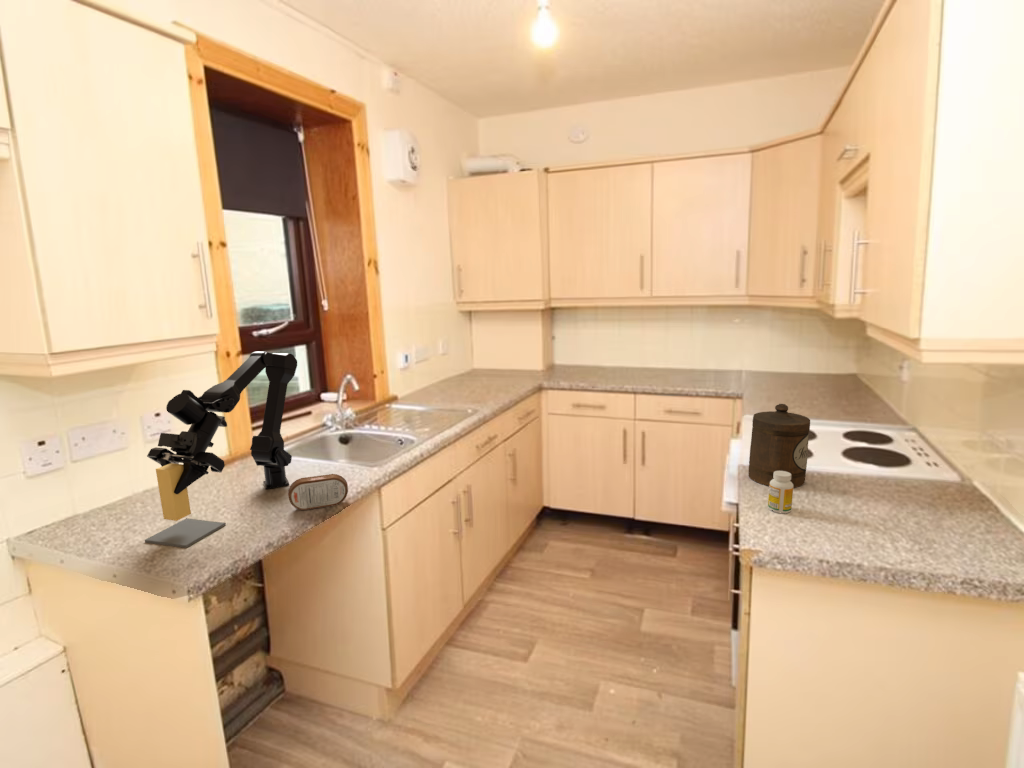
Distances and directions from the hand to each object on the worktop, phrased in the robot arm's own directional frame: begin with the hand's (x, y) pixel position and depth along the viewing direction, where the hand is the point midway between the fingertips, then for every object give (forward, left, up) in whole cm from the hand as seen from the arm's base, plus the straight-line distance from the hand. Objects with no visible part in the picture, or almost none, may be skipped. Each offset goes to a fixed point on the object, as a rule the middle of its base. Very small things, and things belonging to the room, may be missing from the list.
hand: (168, 492), depth 132 cm
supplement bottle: (+65, +132, -11) cm, 148 cm away
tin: (0, +33, -11) cm, 35 cm away
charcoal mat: (-1, +2, -11) cm, 11 cm away
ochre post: (-1, +1, -7) cm, 7 cm away
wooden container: (+51, +150, -11) cm, 159 cm away
